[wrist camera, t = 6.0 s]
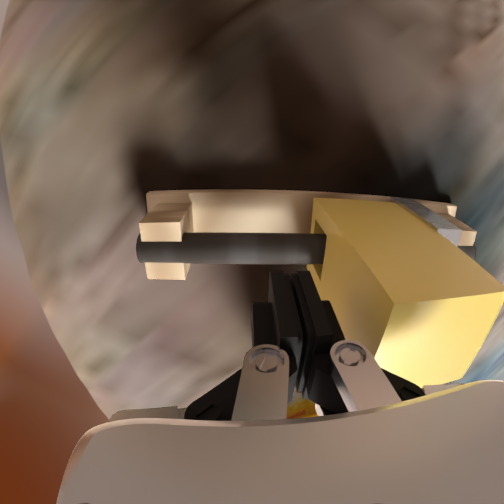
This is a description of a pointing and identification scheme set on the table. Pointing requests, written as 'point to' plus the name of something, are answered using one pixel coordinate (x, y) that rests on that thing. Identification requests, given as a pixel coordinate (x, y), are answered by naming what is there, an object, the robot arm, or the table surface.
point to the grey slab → (430, 218)
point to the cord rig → (244, 228)
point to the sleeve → (403, 289)
